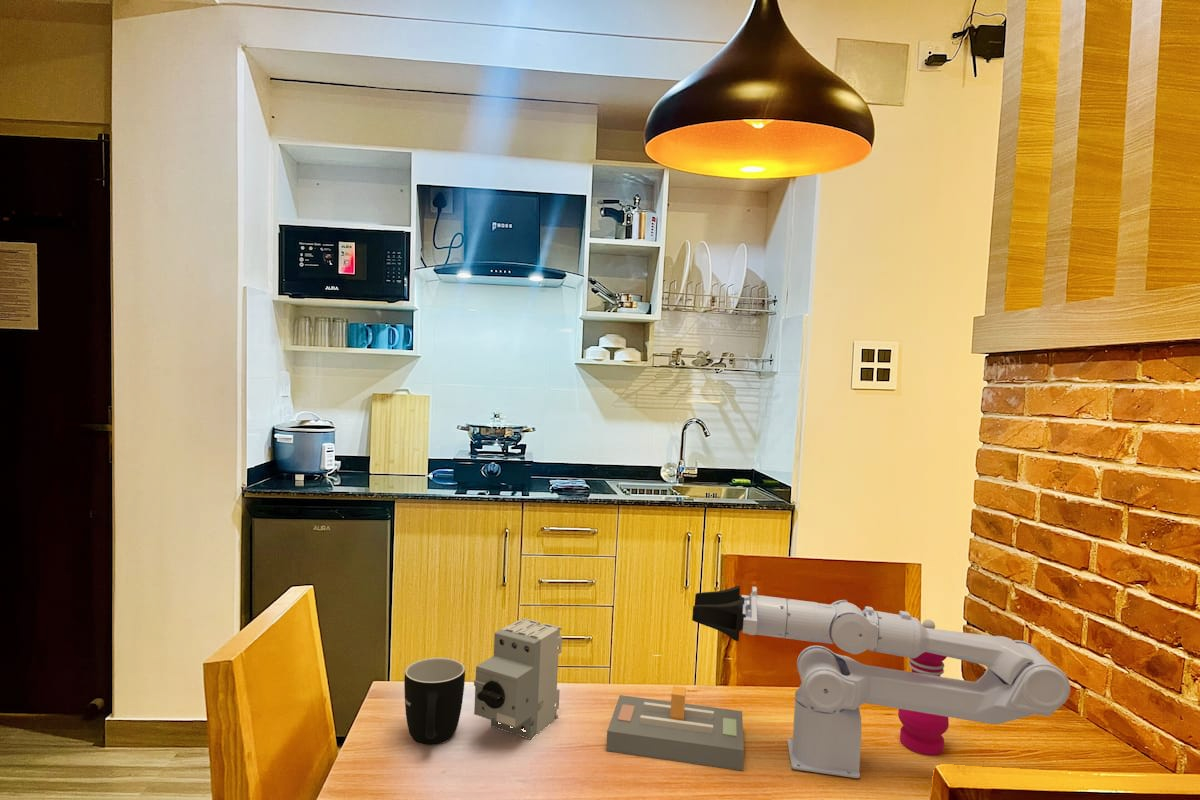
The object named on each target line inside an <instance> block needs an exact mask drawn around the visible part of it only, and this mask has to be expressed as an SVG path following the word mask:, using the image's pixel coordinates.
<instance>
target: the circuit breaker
mask: <svg viewBox="0 0 1200 800" xmlns="http://www.w3.org/2000/svg"><path fill="white" fill-rule="evenodd" d="M561 630H562V626H557V625H554V624H549V623H546V622H544V623H541V622H540V621H536V620H533V619H531V618H530V619H529V618H525V617H522V619H518V620H517V621H515V622H513V623H511V624H508V625H506V626H505V627H503V628H501V629H499V630H497V631H495V632H494V637H493V638H494V640H493V642H494V643H493V656H491V657H490V658H488V659H486V660H484V661H483V662H481V663H479V664H477V665H476V666H475V680H474V682H473V686H474V687H475V688H474V710H473V711H474V712H473V714H474V715H476V716H477V717H482V718H485V719H487V720H490V726H491V727H492V726H495V727H497V728H496V729H498V728H500V729H499V730H501V729H503V730H502V731H504V730H506V731H505V732H507V731H509V732H508V733H510V732H512V733H511V734H513V733H514V734H513V735H516V734H518V735H517V736H519V735H521V736H520V737H522V736H524V737H523V738H525V737H527V738H526V739H528V738H530V739H529V740H533V739H534V738H535V737H536V736H537V735H536V734H538V733H539V732H540V731H541V732H542V731H544V730H545V729H546V728H547V727H549V726H550V725H552V723H554V722H555V719H558V718H559V714H558V713H557V712H558V711H557V710H558V709H560V691H561V690H560V689H558V670H559V655H560V654H561V653H562V646H563V645H562V643H563V636H561V632H560V631H561ZM553 721H554V722H553ZM498 722H499V723H501V724H498ZM549 724H550V725H549ZM548 725H549V726H548ZM510 726H511V727H513V728H510ZM495 727H494V728H495ZM545 727H546V728H545ZM523 728H524V730H526V732H523V731H522V730H521V729H523ZM544 728H545V729H544ZM543 729H544V730H543ZM541 732H540V733H541ZM540 733H539V734H540ZM539 734H538V735H539ZM535 735H536V736H535ZM534 736H535V737H534ZM533 737H534V738H533ZM532 738H533V739H532Z"/></svg>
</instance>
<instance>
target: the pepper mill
mask: <svg viewBox="0 0 1200 800" xmlns="http://www.w3.org/2000/svg"><path fill="white" fill-rule="evenodd" d="M922 625H923V626H924V627H925V628H931V629H936V625H935V622H934V621H933V620H931V619H925V620H923V622H922ZM947 658H948V657H946V656H942V655H937V654H933V653H929V652H924V653H922V654H921V655H919V656H918V657H916V658H909V657H908V659H909V663H908V666H909V668H910V669H911V672H914V673H920V674H927V675H933V676H939V677H941V675H943V674H944V673H945V669H944V668H945V663H944V662H943V661H945V660H946V659H947ZM897 714H898V719H899V721H900V723H901V724H902V726H901V728H900V731H899V733H900V734H899V740H900V742H901V745H902V746H904V747H905V748H907V749H908V750H911V751H913V752H915V753H918V754H922V755H927V756H937V755H940V754H942V753H943V752H944V748H945V747H944V746H945V739H944V736H943V735H944V734H945V733H946V732H947V731H948V729H949V725H950V724H949V717H946V716H940V715H934V714H928V713H922V712H916V711H910V710H904V709H898V711H897Z"/></svg>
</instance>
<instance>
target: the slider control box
mask: <svg viewBox="0 0 1200 800" xmlns="http://www.w3.org/2000/svg"><path fill="white" fill-rule="evenodd" d="M617 699H618V700H617V702H616V705H615V708H614V711H613V714H612V716H611V719H610V722H609V725H608V727H607V731H606V747H605V748H606V750H605V751H606V752H614V753H619V754H627V755H632V756H633V755H634V756H639V757H646V758H653V759H660V760H661V759H662V760H667V761H673V762H681V763H688V764H695V765H702V766H709V767H715V768H720V769H721V768H723V769H729V770H735V771H741V772H742V771H743V770H744V756H745V755H744V751H745V747H744V725H743V724H744V723H743V721H744V719H743V710H736V709H730V708H729V709H728V708H722V707H716V706H715V707H713V706H707V705H699V704H698V705H697V704H692V703H690V704H689V703H685V714H684V721H681V720H674V719H670V715H671V701H668V700H663V699H662V700H660V699H653V698H646V697H645V698H644V697H639V696H629V695H624V694H619V696H618V698H617Z"/></svg>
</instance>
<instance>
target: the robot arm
mask: <svg viewBox="0 0 1200 800" xmlns="http://www.w3.org/2000/svg"><path fill="white" fill-rule="evenodd" d="M740 593H741V586H740V585H736V586H735V585H734V586H733V587H729V588H727V589H723V590H718V591H703V592H697V593H695V598H694V605H693V606H692V615H691V616H692V618H691V621H693V622H695V623H697V624H700V625H702V626H705V627H708V628H712V629H714V630H717V631H718V632H720V633H723V634H725V635H727V637H729V638H731V639H732V640H733V641H734V642H739V641H740V632H742V634H748V635H749V636H755V635H756V636H757V635H758V636H766V637H773V638H781V639H787V640H788V639H790V640H797V641H805V642H812V643H821V644H830V645H834V644H835V645H836V646H837V647H838V648H839V649H840V650H841V651H843V652H846V653H849V654H851V655H859V654H861V653H865V651H867V650H868V651H870V652H876V653H881V654H887V655H893V656H898V657H904V658H908V659H909V658H916V657H918V656H919V655H921V654H922V653H924V652H929V653H933V654H937V655H942V656H946V657H947V658H952V659H956V660H960V661H965V662H969V663H973V664H977V665H978V664H979V665H983V666H984V667H986V670H985V672H984V674H983V675H981V677H979V678H978V679H976V680H975V681H970V680H964V679H958V678H951V677H947V676H946V677H944V676H940V677H939V676H933V675H927V674H920V673H914V672H912V671H907V670H902V669H901V670H900V669H895V668H893V669H892V668H888V667H881V666H876V665H875V666H874V665H869V664H864V663H862V662H859V661H857V660H855V659H853V658H852V657H849V656H847V655H841V654H838V653H835V652H833V651H832V650H831V649H829V648H828V647H825V646H823V645H810V646H808V647H805V648H804V649H803V650H802V651H801V652H800V653H799V655H798V657H797V660H796V667H797V668H796V669H797V672H798V674H799V677H800V681H801V683H800V685H799V687H798V688H797V690H796V691H795V693H794V712H793V713H794V714H793V728H792V729H793V730H792V738H787V741H786V743H787V749H788V754H789V760H790V766H791V768H792V769H793V770H797V771H802V772H803V771H805V772H811V773H817V774H818V773H819V774H823V775H825V774H826V775H832V776H840V777H847V778H852V779H860V778H861V773H860V762H861V750H862V749H861V748H862V747H861V746H862V715H861V712H860V707H861V706H862V705H863V704H868V705H875V706H882V707H887V708H893V709H898V710H899V709H904V710H910V711H916V712H922V713H928V714H934V715H940V716H946V717H948V718H953V719H957V720H958V719H959V720H965V721H971V722H977V723H982V724H990V725H1001V724H1004V723H1009V722H1012V721H1016V720H1019V719H1022V718H1026V717H1030V716H1034V715H1036V716H1043V717H1050V716H1052V715H1053V714H1054V713H1055V712H1056V711H1057V710H1058V709H1059V708H1060V707H1061V706H1063V705H1064V704H1065V703H1066V702H1067V700H1068V698H1069V696H1070V693H1071V684H1070V681H1069V678H1068V676H1067V674H1066V673H1065V672H1064V671H1063V670H1062V669H1060V667H1058V666H1056V665H1055V664H1053V663H1052V662H1050V661H1049V660H1048V659H1047V658H1046V657H1045V656H1044V655H1042V654H1041V653H1040V651H1039V650H1038V649H1037V648H1036V647H1035V646H1034V645H1033V644H1031V643H1029V642H1027V641H1024V640H1018V639H1016V640H1015V639H1014V640H1013V639H1012V638H1010V637H1007V636H1004V635H996V636H995V635H985V634H978V633H971V632H963V631H954V630H946V629H945V630H944V629H937V628H935V629H931V628H925V627H924V626H923V623H921V621H920V620H919V619H918V618H917V617H913V616H912V615H911V614H910V613H909V611H905V610H899V613H897V614H896V613H891V612H885V611H879V610H875V609H874V608H873V607H872V606H864V609H863V610H862V609H861V608H860V607H858V606H857V605H855V604H854V603H851V602H848V600H847V599H841V600H836V601H833V602H832V603H830V604H827V603H822V602H816V601H806V600H801V599H800V600H799V599H792V598H785V597H775V596H768V595H762V594H761V595H759V594H758V588H757V586H752V587H751V592H750V595H748V594H747V595H746V594H741V595H740Z"/></svg>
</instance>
